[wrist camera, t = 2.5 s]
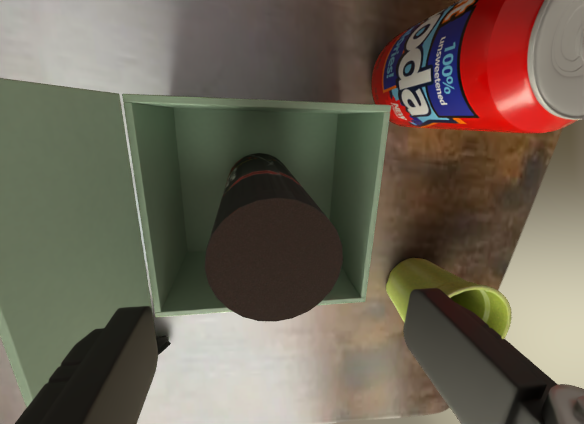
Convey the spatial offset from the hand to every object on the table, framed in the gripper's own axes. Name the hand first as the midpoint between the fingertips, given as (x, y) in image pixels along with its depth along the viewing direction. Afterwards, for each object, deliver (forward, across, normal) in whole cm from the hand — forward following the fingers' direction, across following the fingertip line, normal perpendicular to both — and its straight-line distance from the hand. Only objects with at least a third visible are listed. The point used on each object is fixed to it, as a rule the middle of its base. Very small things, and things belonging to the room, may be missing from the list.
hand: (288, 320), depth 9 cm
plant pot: (+19, -17, +12) cm, 28 cm away
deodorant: (+19, 0, 0) cm, 19 cm away
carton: (+19, 0, 0) cm, 19 cm away
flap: (+5, +8, 0) cm, 10 cm away
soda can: (+19, -13, -10) cm, 25 cm away
